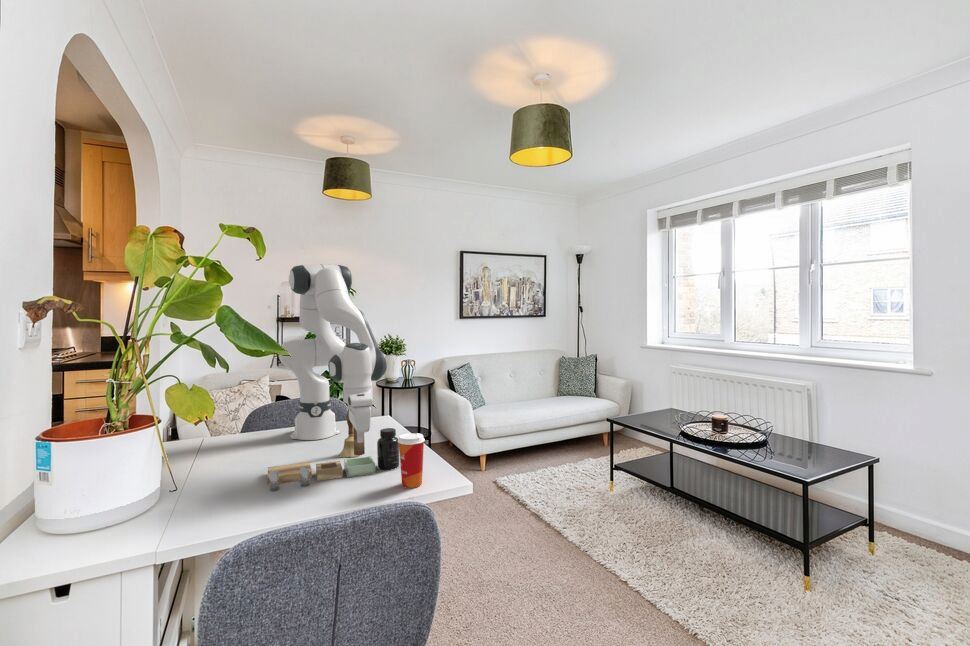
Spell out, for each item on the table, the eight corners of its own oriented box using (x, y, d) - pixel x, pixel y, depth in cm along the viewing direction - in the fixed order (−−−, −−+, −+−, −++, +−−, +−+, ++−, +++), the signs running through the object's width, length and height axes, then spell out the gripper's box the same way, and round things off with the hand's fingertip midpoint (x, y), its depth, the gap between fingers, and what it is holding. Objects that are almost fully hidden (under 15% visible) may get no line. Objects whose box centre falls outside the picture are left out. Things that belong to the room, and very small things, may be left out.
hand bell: (334, 457, 158) (333, 410, 158) (347, 450, 166) (346, 405, 166) (355, 458, 156) (354, 411, 156) (368, 451, 164) (367, 406, 164)
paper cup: (401, 479, 136) (400, 432, 136) (427, 479, 136) (426, 432, 135) (395, 490, 128) (394, 439, 128) (423, 490, 128) (422, 439, 127)
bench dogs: (269, 488, 130) (269, 471, 130) (309, 482, 134) (308, 465, 134) (269, 491, 128) (269, 473, 128) (309, 485, 132) (309, 468, 132)
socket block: (316, 473, 142) (316, 463, 142) (339, 470, 145) (339, 460, 145) (317, 481, 135) (317, 471, 135) (342, 477, 138) (342, 467, 138)
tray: (344, 469, 146) (344, 459, 146) (370, 465, 149) (370, 456, 149) (347, 477, 138) (347, 467, 138) (375, 473, 141) (375, 463, 141)
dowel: (353, 453, 144) (352, 424, 144) (363, 451, 145) (363, 423, 145) (354, 455, 141) (353, 426, 141) (365, 454, 142) (364, 425, 142)
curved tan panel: (268, 475, 142) (267, 467, 142) (309, 469, 147) (309, 461, 147) (267, 486, 133) (267, 477, 133) (312, 479, 138) (311, 471, 138)
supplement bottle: (373, 467, 147) (372, 429, 147) (391, 462, 152) (390, 425, 152) (385, 472, 142) (385, 433, 142) (403, 466, 147) (403, 429, 147)
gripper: (343, 391, 151) (344, 433, 152) (351, 402, 132) (352, 450, 133) (363, 390, 154) (364, 431, 154) (374, 400, 135) (375, 447, 135)
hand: (359, 440), depth 143 cm, fingers closed on dowel, 3 cm apart
